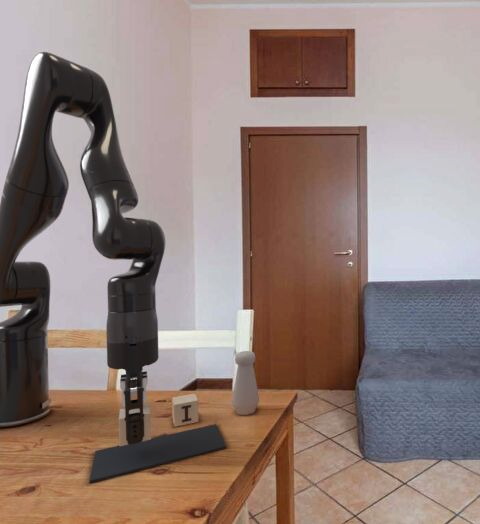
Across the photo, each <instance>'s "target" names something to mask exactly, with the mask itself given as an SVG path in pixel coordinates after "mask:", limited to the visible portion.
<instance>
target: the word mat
mask: <svg viewBox="0 0 480 524" xmlns="http://www.w3.org/2000/svg"><path fill="white" fill-rule="evenodd" d="M223 449H227V445H226V442H225V440H224V438H223V435H222V434H221V432H220V430H219V428H218V426H217V423H215V424H210V425H206V426H205V425H204V426H201V427H197V428H192V429H188V430H183V431H179V432H175V433H170V434H165V435H160V436H156V437H151V440H146V441H142V442H140V443H135V444H131V445H130V444H128V445H124V446H119V445H116V446H111V447H107V448H102V449H98V450H97V449H96V450H95V452H94V457H93V461H92V466H91V471H90V475H89V480H88V481H89V482H88V483H89V484H92V483H96V482H99V481H100V482H101V481H103V480H107V479H111V478H115V477H119V476H123V475H127V474H130V473H135V472H139V471H142V470H146V469H151V468H154V467H158V466H162V465H166V464H170V463H173V462H177V461H181V460H185V459H189V458H193V457H198V456H201V455H205V454H209V453H213V452H217V451H220V450H223Z"/></svg>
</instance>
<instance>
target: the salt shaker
mask: <svg viewBox="0 0 480 524" xmlns="http://www.w3.org/2000/svg"><path fill="white" fill-rule="evenodd" d="M234 362H235V364H236V365H237V369H236V374H235V379H234V380H235V381H234V387H233V393H232V399H231V405H232V407H233V409H234V410H235V412H236V414H237V415H238V416H239V415H240V416H248V415H252V414H254V413H255V412H256V409H257V408H258V405H259V403H260V395H259V389H258V385H257V379H256V374H255V368H254V363H255V362H256V353H255V352H253V351H251V350H243V351H239V352H237V353H236V354H235V358H234Z"/></svg>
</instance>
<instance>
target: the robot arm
mask: <svg viewBox="0 0 480 524" xmlns="http://www.w3.org/2000/svg"><path fill="white" fill-rule="evenodd" d="M110 93H111V92H110V91H109V88H108V85H107V82H106V80H105V79H104V78H103V77H102V76H101V75H100V74H99V73H98V72H96V71H95V70H93V69H90V68H88V67H86V66H83V65H80V64H78V63H76V62H74V61H70V60H69V59H66V58H64V57H62V56H59V55H57V54H53V53H51V52H47V51H40V52H38V53H37V54H36V55H35V56H34V57H33V58H32V60H31V62H30V64H29V66H28V69H27V73H26V78H25V84H24V91H23V97H22V105H21V111H20V119H19V125H18V131H17V137H16V141H15V145H14V149H13V153H12V157H11V159H10V164H9V167H8V170H7V173H6V176H5V181H4V185H3V189H2V192H1V198H0V308H5V307H15V306H21V307H20V309H19V311H18V312H16V314H14V315H13V316H11V317H9V318H7V319H5V320H2V321H1V322H0V428H10V427H17V426H21V425H25V424H26V425H27V424H29V423H32V422H35V421H38V420H40V419H42V418H45V417H46V416H48V415H49V414H50V413H51V408H50V407H51V406H50V404H52V398H51V397H50V379H49V377H50V376H49V375H50V374H49V342H48V340H49V339H48V338H49V337H48V327H49V322H50V303H51V302H50V301H51V275H50V272H49V269H48V267H47V266H46V265H45V263H43V262H41V261H36V260H35V261H34V260H33V261H30V260H28V261H27V260H26V261H24V260H23V261H17V259H18V256H19V255H20V254H21V252H22V251H23V249H25V247H26V246H27V245H28V244H30V242H31V241H33V240H34V239H35V238H37V237H38V236H39V235H40V234H42V233H43V232H45V230H47V229H48V228H49V227H50V226H52V224H54V223H55V222H56V221H57V220H58V218H59V217H60V216H61V214H62V212H63V209H64V205H65V202H66V198H67V195H68V192H69V187H70V181H69V177H68V173H67V171H66V169H65V166H64V165H63V161H62V159H61V158H60V156H59V154H58V151H57V148H56V146H55V143H54V139H53V123H54V118H55V114H56V113H59V114H63V115H67V116H69V117H74V118H77V119H82V120H83V121H84V122H85V123H86V125H87V127H88V129H89V131H90V136H89V139H88V141H87V144H86V145H85V147H84V149H83V151H82V153H81V157H80V161H79V170H80V175H81V178H82V181H83V185H84V187H85V190H86V192H87V195H88V197H89V200H90V205H91V219H92V220H91V221H92V222H91V224H92V225H91V226H92V227H91V229H92V230H91V238H92V243H93V246H94V248H95V250H96V251H97V252H98V253H99V254H100V255H101V256H102V257H104V258H106V259H107V260H112V261H124V260H125V261H126V260H128V261H129V260H131V264H130V266H129V268H128V270H127V271H125V272H124V273H119V274H116V275H114V276H112V277H110V278H108V281H107V288H106V289H107V293H106V294H107V318H106V326H105V327H106V329H105V330H106V364H107V367H108V368H110V369H112V370H124V371H125V373H123V374H120V379H119V389H120V391H121V406H122V407H123V408H124V409H125V421H126V423H127V443H128V444H130V445H131V444H135V443H140V442H141V441H142V440H143V417H144V414H143V405H146V402H147V385H148V384H149V383H148V382H149V381H148V370H144V368H143V367H145V366H150V365H153V364H155V363H157V361H158V360H159V357H160V355H159V321H158V319H159V318H158V314H157V299H156V297H157V295H156V284H157V280H158V276H159V273H160V268H161V266H162V262H163V258H164V255H165V250H166V236H165V232H164V230H163V228H162V226H161V225H160V224H159V223H158V222H156V221H155V220H151V219H146V218H137V217H136V218H135V217H125V216H123V215H124V214H127V213H129V212H132V211H133V210H134V209H135V208H137V206H138V204H139V195H138V191H137V189H136V187H135V185H134V182H133V179H132V177H131V174H130V171H129V170H128V167H127V165H126V162H125V159H124V156H123V152H122V149H121V144H120V139H119V133H118V127H117V121H116V117H115V112H114V108H113V102H112V97H111V94H110ZM132 409H140V412H137V413H132V414H129V410H132Z"/></svg>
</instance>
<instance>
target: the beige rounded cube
mask: <svg viewBox="0 0 480 524" xmlns="http://www.w3.org/2000/svg"><path fill="white" fill-rule="evenodd" d="M137 412H140V409H132V410H129V414H132V413H137ZM143 414H144V417H143V440H142V441H146V440H151V438H152V432H151V431H152V428H151V427H152V426H151V425H152V424H151V422H152V421H151V405H150V403H147V404H143ZM118 415H119V416H118V441H119V443H118V446H124V445H128V443H127V423H126V421H125V408H120V409H119V414H118ZM142 441H141V442H142Z"/></svg>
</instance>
